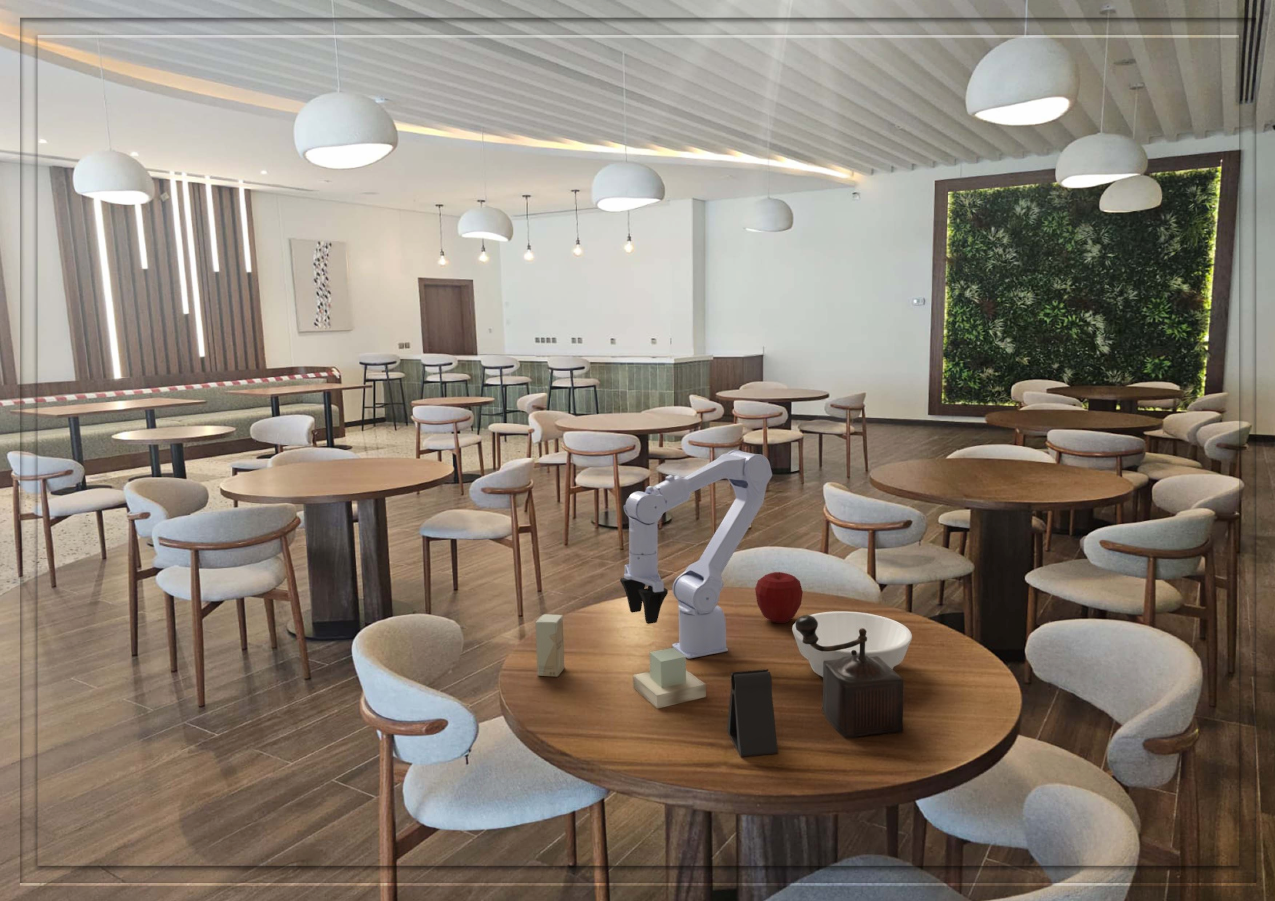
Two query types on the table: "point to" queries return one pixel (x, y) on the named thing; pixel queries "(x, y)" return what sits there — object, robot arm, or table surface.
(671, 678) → the sage cube
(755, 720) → the phone stand
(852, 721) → the manual coffee grinder
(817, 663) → the bowl
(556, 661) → the box
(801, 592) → the apple
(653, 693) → the birch block
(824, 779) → the table surface
